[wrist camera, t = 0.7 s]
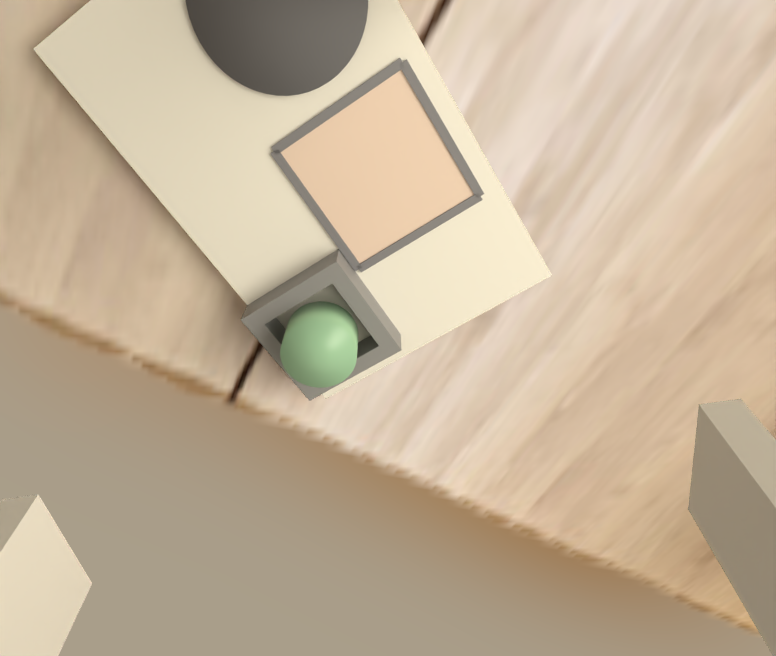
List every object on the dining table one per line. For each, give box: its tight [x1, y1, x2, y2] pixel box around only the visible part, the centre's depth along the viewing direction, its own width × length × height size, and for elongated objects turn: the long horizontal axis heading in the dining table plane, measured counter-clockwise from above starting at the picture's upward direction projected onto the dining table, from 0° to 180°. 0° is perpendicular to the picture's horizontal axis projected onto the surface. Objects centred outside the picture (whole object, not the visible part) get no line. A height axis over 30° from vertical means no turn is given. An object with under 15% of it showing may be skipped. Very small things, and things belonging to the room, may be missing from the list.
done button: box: [280, 301, 358, 388], centre depth 37 cm, size 4×4×3 cm
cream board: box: [33, 0, 552, 401], centre depth 35 cm, size 26×17×3 cm, turn 33°
